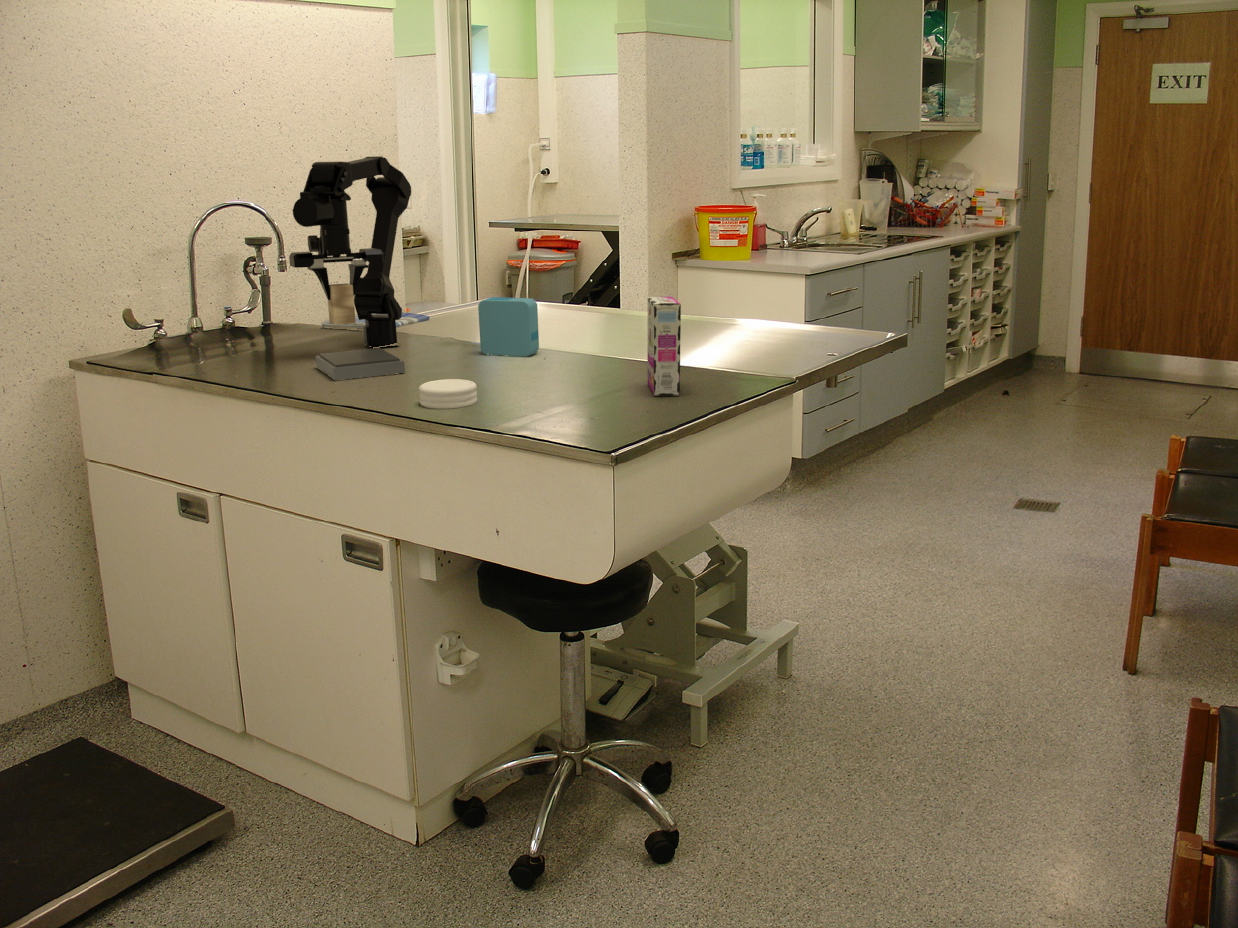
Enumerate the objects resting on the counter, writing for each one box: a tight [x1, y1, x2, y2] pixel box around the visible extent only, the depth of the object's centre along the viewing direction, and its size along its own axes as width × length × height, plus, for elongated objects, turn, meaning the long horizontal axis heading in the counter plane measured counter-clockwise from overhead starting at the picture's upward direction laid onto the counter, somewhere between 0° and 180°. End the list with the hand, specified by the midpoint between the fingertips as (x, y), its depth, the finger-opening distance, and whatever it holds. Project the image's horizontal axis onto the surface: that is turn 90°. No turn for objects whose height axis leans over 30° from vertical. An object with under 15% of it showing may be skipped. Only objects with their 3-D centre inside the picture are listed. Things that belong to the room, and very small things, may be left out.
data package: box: [477, 296, 540, 358], centre depth 233 cm, size 12×4×12 cm, turn 71°
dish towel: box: [320, 311, 431, 329], centre depth 281 cm, size 17×24×3 cm
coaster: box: [418, 378, 478, 410], centre depth 189 cm, size 10×10×4 cm
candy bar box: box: [647, 296, 682, 397], centre depth 194 cm, size 11×5×16 cm, turn 5°
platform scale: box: [315, 348, 406, 381], centre depth 219 cm, size 14×16×3 cm
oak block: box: [327, 283, 356, 325], centre depth 230 cm, size 4×4×8 cm
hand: (340, 299), depth 230 cm, fingers closed on oak block, 4 cm apart
